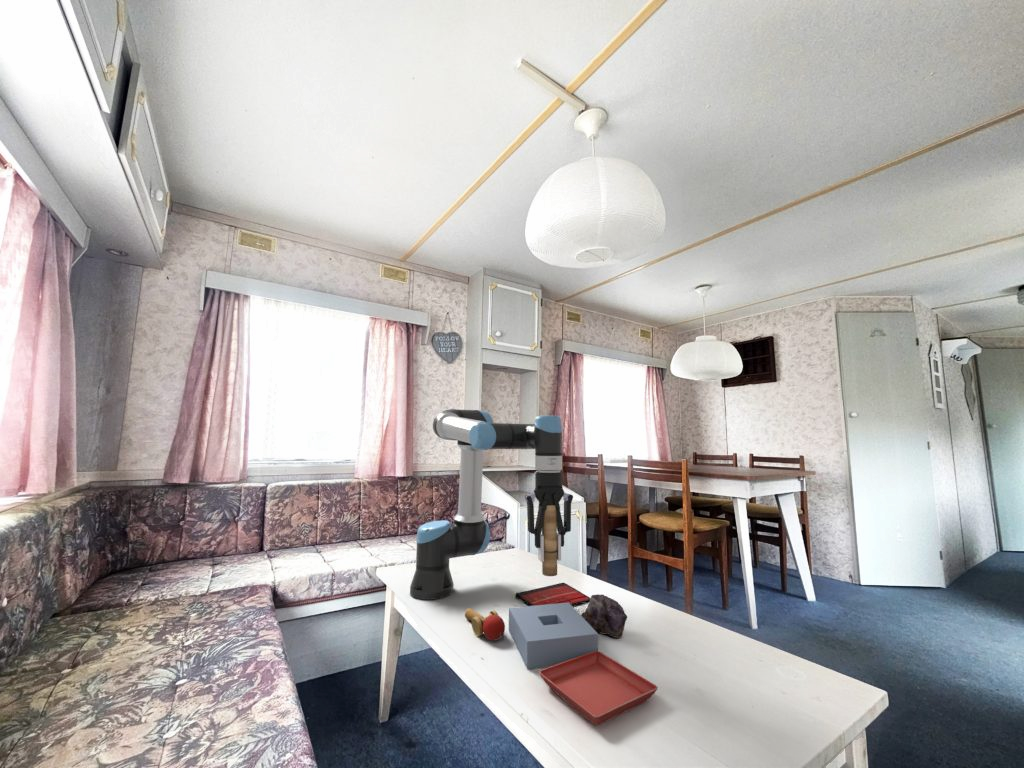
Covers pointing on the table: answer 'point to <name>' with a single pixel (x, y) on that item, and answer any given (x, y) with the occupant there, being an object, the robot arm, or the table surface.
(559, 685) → the plant saucer
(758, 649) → the table surface
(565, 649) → the board
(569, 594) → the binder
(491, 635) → the kendama
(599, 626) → the rock
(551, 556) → the peg
